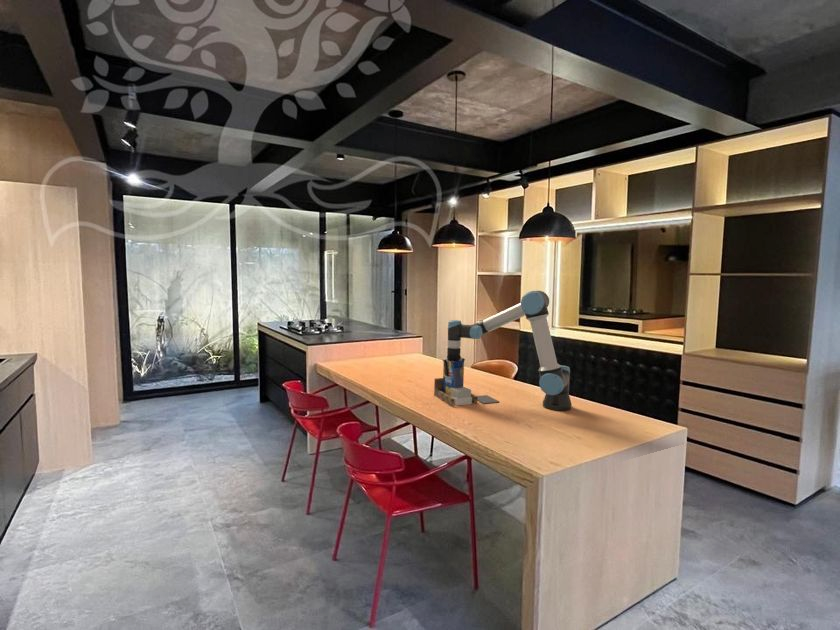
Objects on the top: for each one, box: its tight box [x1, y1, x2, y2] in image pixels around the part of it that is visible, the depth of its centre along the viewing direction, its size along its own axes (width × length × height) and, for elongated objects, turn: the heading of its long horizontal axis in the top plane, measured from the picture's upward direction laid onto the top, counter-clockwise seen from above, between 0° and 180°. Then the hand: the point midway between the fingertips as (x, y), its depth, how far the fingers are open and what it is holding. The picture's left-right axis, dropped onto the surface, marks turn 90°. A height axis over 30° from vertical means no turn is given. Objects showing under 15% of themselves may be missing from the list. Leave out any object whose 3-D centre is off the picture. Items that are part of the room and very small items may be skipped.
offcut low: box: [450, 395, 473, 406], centre depth 253 cm, size 7×10×4 cm
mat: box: [476, 394, 500, 405], centre depth 260 cm, size 14×10×1 cm
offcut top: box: [451, 386, 472, 399], centre depth 253 cm, size 6×9×4 cm, turn 122°
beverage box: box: [442, 360, 465, 396], centre depth 262 cm, size 7×11×22 cm, turn 31°
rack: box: [433, 377, 479, 407], centre depth 259 cm, size 24×16×10 cm
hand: (452, 387), depth 262 cm, fingers closed on beverage box, 2 cm apart
